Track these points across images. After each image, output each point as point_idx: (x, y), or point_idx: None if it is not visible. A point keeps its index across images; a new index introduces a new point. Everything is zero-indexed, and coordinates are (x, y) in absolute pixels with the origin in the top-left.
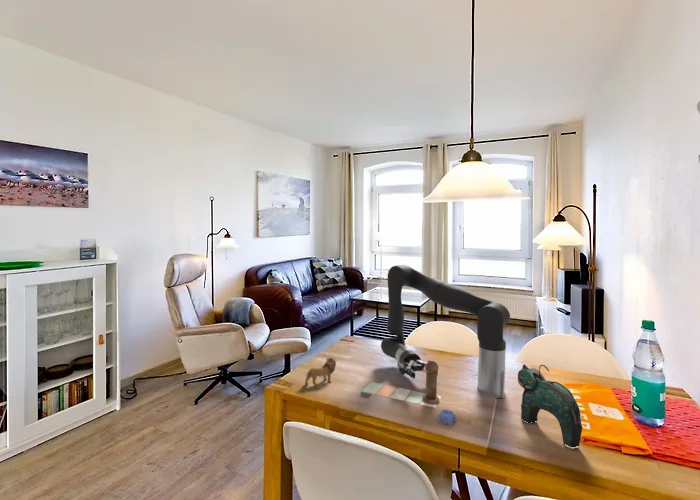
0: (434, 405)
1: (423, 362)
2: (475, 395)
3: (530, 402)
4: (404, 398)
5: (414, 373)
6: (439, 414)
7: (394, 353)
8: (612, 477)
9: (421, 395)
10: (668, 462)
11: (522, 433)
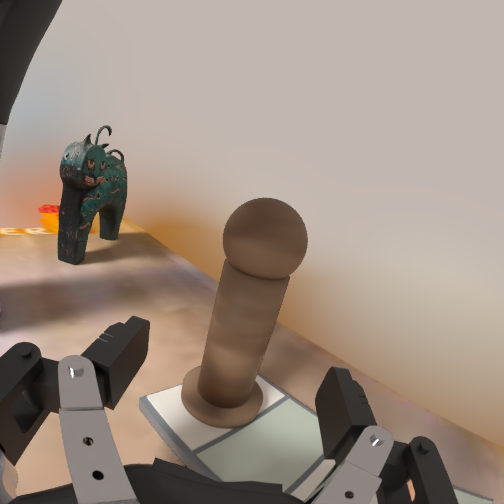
0: None
1: (100, 457)
2: (4, 338)
3: (94, 209)
4: None
5: (335, 369)
6: None
7: None
8: (139, 227)
9: (238, 447)
10: None
11: (126, 261)
